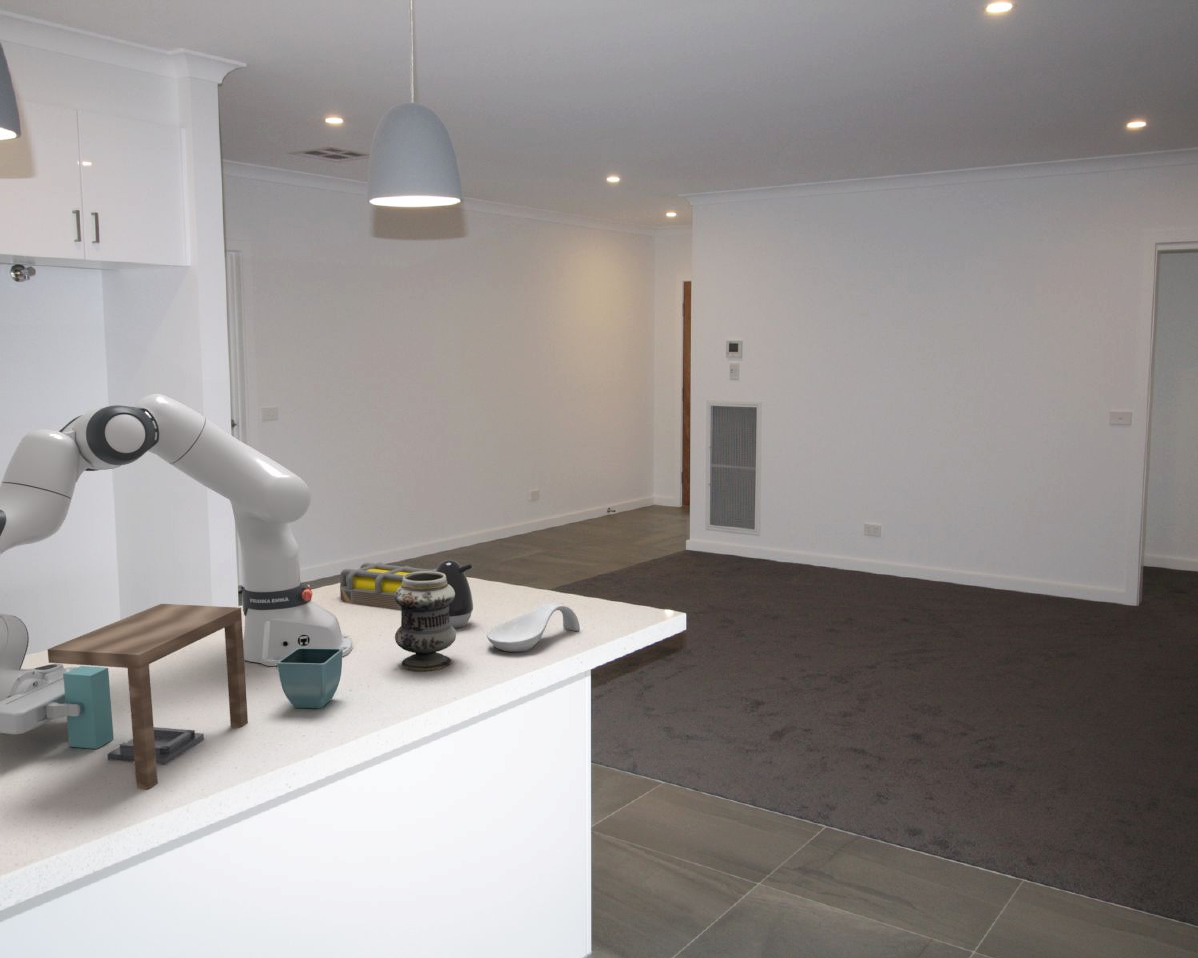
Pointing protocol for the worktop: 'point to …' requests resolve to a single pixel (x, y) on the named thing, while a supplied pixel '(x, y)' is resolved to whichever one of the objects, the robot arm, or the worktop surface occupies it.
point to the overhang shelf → (147, 643)
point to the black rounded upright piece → (458, 592)
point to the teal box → (89, 706)
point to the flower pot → (310, 676)
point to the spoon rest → (529, 628)
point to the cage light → (374, 584)
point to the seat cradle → (161, 745)
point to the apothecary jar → (425, 620)
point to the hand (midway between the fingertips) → (93, 703)
